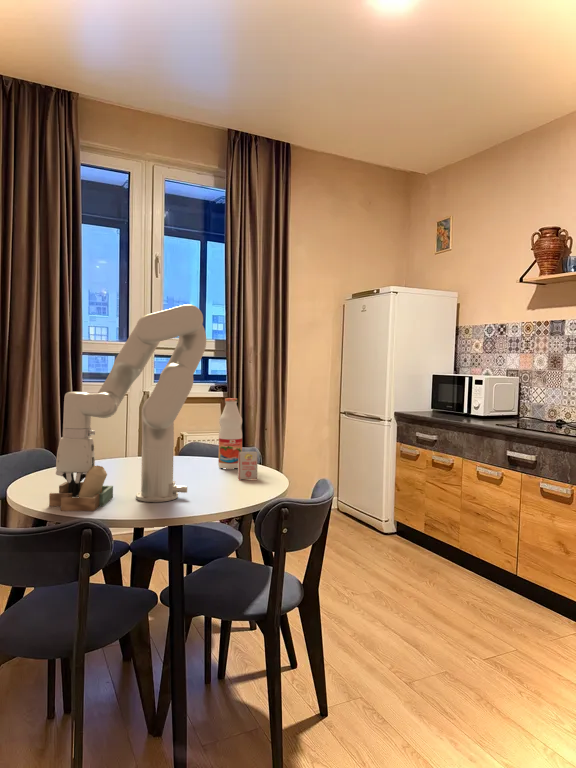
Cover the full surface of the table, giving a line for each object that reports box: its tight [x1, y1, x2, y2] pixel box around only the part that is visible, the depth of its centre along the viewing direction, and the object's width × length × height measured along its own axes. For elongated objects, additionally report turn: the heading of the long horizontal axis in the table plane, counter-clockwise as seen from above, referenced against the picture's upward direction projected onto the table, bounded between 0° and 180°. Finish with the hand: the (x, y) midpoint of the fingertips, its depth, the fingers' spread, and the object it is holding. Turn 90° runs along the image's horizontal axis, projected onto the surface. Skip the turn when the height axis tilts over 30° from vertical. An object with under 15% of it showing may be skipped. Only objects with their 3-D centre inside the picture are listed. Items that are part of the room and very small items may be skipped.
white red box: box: [237, 451, 258, 480], centre depth 197 cm, size 4×7×10 cm, turn 100°
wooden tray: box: [48, 481, 114, 512], centre depth 160 cm, size 16×21×4 cm
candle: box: [78, 465, 108, 498], centre depth 160 cm, size 6×6×10 cm
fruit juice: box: [217, 397, 243, 470], centre depth 218 cm, size 9×9×28 cm
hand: (74, 495), depth 160 cm, fingers closed
